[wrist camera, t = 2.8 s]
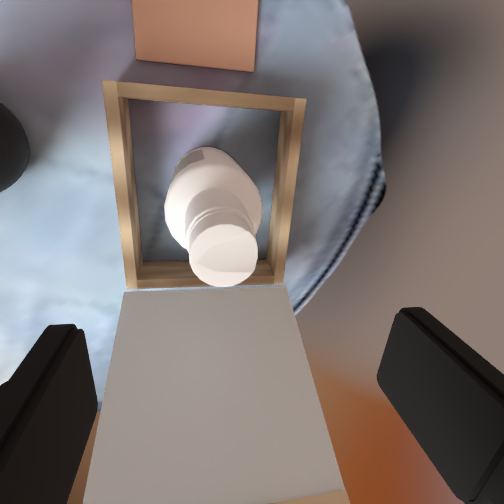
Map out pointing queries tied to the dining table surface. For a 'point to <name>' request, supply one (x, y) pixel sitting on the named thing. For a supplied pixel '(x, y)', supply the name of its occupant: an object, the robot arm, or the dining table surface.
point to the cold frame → (125, 185)
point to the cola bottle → (11, 149)
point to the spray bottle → (214, 216)
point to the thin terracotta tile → (196, 32)
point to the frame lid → (211, 405)
